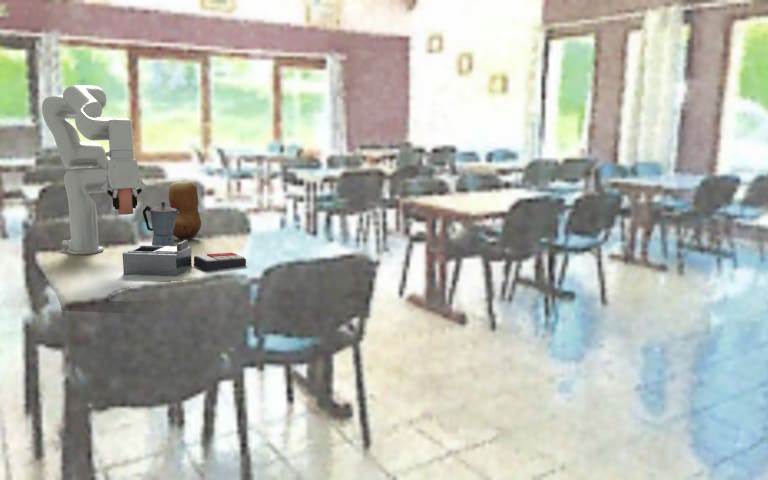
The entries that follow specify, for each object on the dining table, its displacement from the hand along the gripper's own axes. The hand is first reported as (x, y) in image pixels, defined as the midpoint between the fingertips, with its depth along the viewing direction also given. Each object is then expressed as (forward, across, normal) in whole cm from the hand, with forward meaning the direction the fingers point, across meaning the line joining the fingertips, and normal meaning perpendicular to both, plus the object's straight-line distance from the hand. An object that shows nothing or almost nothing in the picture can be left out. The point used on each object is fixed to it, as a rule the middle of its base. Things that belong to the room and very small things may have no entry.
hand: (125, 208), depth 231 cm
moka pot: (+20, +15, +14) cm, 29 cm away
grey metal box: (+21, +7, -12) cm, 25 cm away
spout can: (+2, 0, 0) cm, 2 cm away
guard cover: (+14, +11, -15) cm, 23 cm away
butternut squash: (+20, +32, +38) cm, 54 cm away
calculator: (+22, +27, -15) cm, 38 cm away
